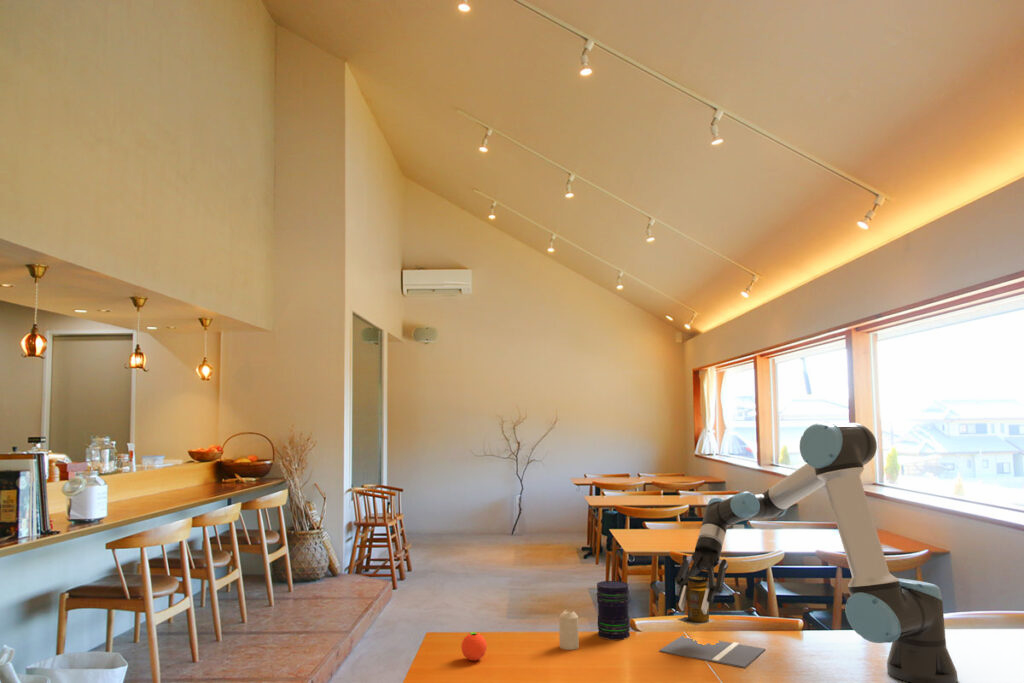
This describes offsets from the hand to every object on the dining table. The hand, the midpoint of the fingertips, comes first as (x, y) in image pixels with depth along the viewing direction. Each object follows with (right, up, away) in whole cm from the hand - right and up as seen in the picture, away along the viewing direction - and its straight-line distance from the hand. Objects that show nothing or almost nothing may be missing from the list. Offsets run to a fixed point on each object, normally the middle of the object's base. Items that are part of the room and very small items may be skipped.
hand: (692, 609), depth 192 cm
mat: (+5, -11, -2) cm, 12 cm away
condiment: (+2, -4, +3) cm, 5 cm away
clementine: (-62, -11, -8) cm, 63 cm away
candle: (-35, -12, +2) cm, 37 cm away
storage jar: (-20, -13, +14) cm, 28 cm away
